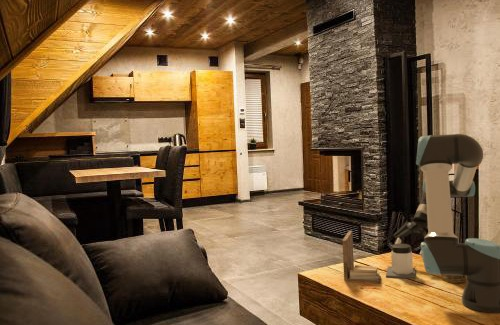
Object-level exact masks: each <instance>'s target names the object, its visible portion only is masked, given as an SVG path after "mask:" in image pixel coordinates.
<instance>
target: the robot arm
mask: <svg viewBox="0 0 500 325" xmlns="http://www.w3.org/2000/svg"><path fill="white" fill-rule="evenodd" d="M417 140H418V141H417V142H418V143H417V151H416V161H415V164H416V165H417V166H419V167H420V168H419V169H420V170H421V172H423V173H424V179H423V182H422V184H423V185H422V194H421V196H422V197H421V199H420V203H419V205H418V207H417V209H416V212H415V214H414V216H413V218H412V222H409V221H408V220H405V222H404V224H403V225H402V226H401V227H400V228H399V229H397V231H396V232H394V233H393V237H394V238H395V239H394V244H402V240H403V239H404V238H405V237H407V236H409V235H410V234H414V233H416V234H417V233H418V234H422V236H423V237H424V238H423V239H424V240H423V241H422V242H421V243H420V252H419V255H420V257H421V258H422V262H423V265H424V266H423V267H424V270H425V272H426V273H427V274H429V275H439V276H443V275H458V276H466V278H467V281H466V282H465V283H466V284H465V286H464V288H463V289H464V290H463V292H462V294H461V303H462V304H463V305H464V306H465V307H466V308H468V309H470V310H474V311H477V312H482V313H488V314H489V313H492V314H494V313H495V314H496V313H500V244H499V243H497V242H494V241H492V240H487V239H482V238H476V237H475V238H473V237H471V238H466V239H465V241H464V242H459V238H458V236H457V235H456V234H455V233H454V227H453V216H452V215H453V214H452V202H451V200H452V199H451V197H453V198H456V197H458V198H460V197H461V198H462V197H463V198H468V197H474V196H475V194H476V184H475V181H474V177H475V174H476V170H477V168H478V167H479V166H480V165H481V163H482V161H483V159H484V150H483V147H482V145H481V144H480V142H478V141H477V140H476V139H475V138H473V137H471V136H469V135H468V134H463V133H455V134H436V135H435V134H434V135H432V134H430V135H422V136H420V137H419V138H418V139H417ZM453 165H456V167H455V171H454V176H453V180H450V178H449V177H450V175H449V172H450V171H451V170H452V169H453ZM426 230H428V232H427V231H426Z"/></svg>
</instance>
